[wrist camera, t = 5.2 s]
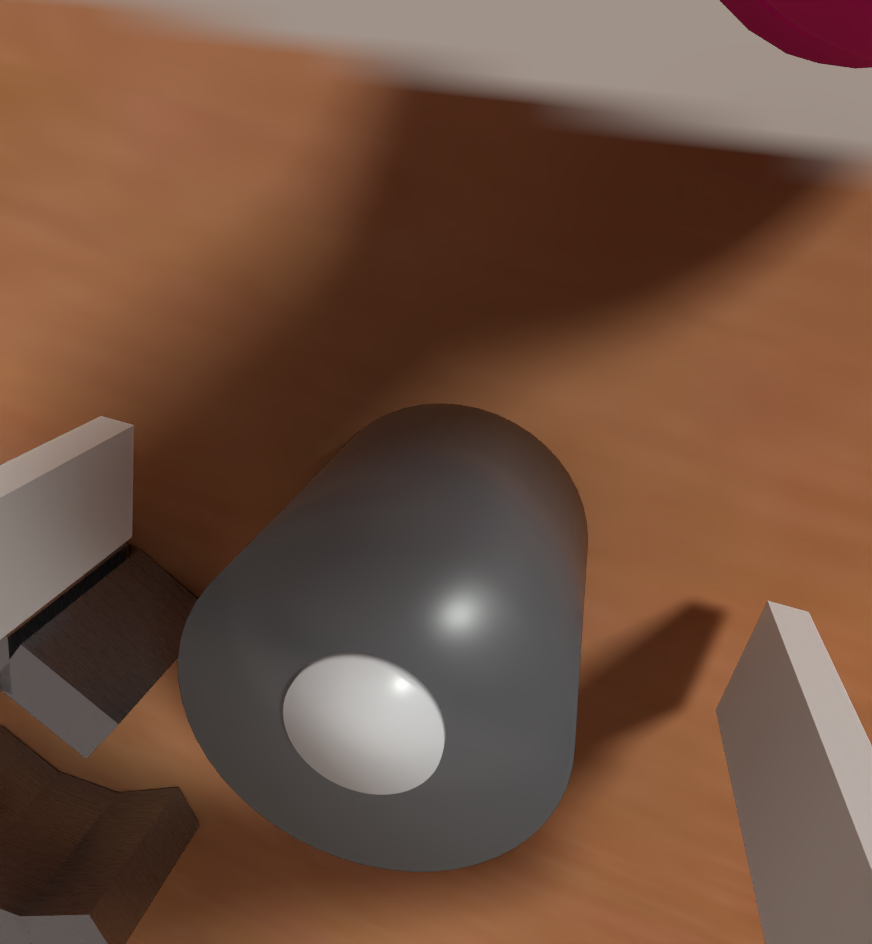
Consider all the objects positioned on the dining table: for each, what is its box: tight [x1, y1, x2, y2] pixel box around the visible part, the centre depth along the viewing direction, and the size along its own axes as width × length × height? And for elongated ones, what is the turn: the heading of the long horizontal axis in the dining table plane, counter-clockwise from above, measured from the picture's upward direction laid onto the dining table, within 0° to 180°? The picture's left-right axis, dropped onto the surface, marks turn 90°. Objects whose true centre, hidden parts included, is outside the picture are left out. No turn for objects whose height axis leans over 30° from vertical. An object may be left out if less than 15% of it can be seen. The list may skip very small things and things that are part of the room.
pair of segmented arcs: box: [0, 542, 199, 944], centre depth 18 cm, size 10×7×4 cm
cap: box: [178, 404, 588, 872], centre depth 13 cm, size 6×6×6 cm
